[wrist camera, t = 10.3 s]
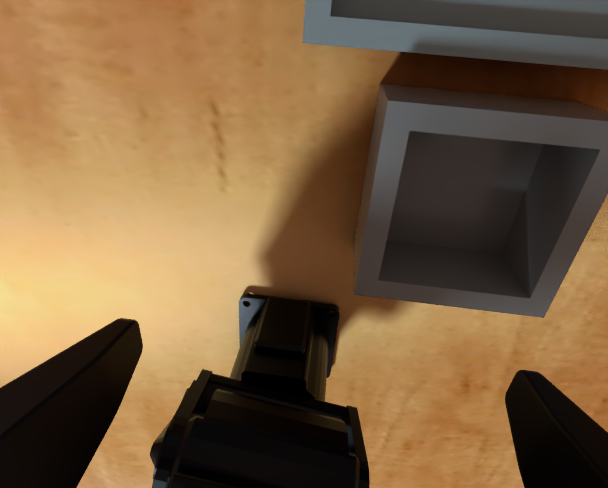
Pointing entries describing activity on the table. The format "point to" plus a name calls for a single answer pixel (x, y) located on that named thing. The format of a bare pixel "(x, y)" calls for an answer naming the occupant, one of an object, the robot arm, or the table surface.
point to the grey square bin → (477, 197)
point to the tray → (468, 28)
